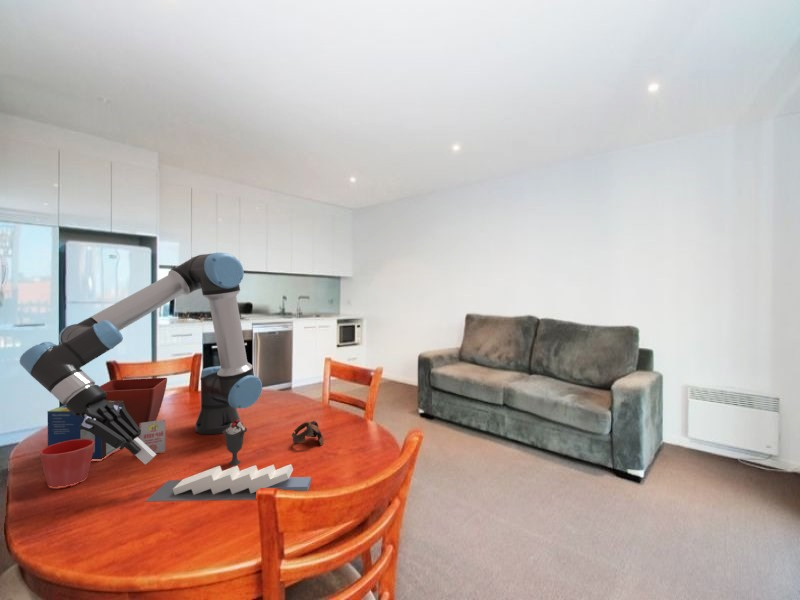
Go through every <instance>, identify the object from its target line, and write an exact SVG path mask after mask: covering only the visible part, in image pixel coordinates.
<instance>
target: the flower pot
mask: <svg viewBox="0 0 800 600" xmlns="http://www.w3.org/2000/svg"><path fill="white" fill-rule="evenodd" d="M94 445H95V441H94V440H91V439H76V440H69V441H64V442H60V443H57V444H53V445H50V446H48V445H47V446H45V447H44V448H42V449H41V450H40V451H39V457H40V461H41V464H42V469H43V473H44V476H45V480H46V484H47V486H48V485H49V486H52V487H58V486H66V485H70V484H74V483H77V482H80V481H82V480H84V479H85V478H86V477H87V478H88V476H89V471H90V467H91V463H92V462H91V460H92V455H93V450H94ZM84 481H85V480H84Z"/></svg>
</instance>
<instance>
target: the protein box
mask: <svg viewBox="0 0 800 600" xmlns="http://www.w3.org/2000/svg"><path fill="white" fill-rule="evenodd" d="M109 402H112V403H113V405H116V406H119V405H120V404H123V401H109ZM83 421H84V419H83V418H82V416H75V415H74V414H73V413H72V412H71V411H69V410H68V409H67V408H66V404H63V405H60V406H58V407H55V408H53V409H50V410H47V447H48V446H50V445H53V444H57V443H60V442H64V441H69V440H76V439H91V440H94V441H95V445H94V450H93V455H92V459H102V458H104V457H105V456H107V455H108V454H110V453H112V452H113V451H115V450H117V449H118V448H117V449H116V448H114V447H112V446H111V445H109V444H108V443H106V442H105V441H103V440H101V439H100V438H98V437H97V436H95V435H94V434H92V433H91V432H89V431H86V430H83V429H81V428H80V427H79V426H80V425H81V424H82V423H83ZM116 443H117V442H116ZM119 448H120V447H119Z"/></svg>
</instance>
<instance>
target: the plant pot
mask: <svg viewBox="0 0 800 600" xmlns="http://www.w3.org/2000/svg"><path fill="white" fill-rule="evenodd" d="M167 382H168V377H149V378H130V379H129V378H126V379H125V378H124V379H111V380H109V381H107V382H105V383H103V384H102V385H100V386H99V385H98V386H99V387H101V388H102V389H103V390H104V391H105V392H106V393H107V396H106V400H108V401H123V404H124V405H125V408H126V411H127V412H128V413H129V415H130V416H131V417H132V419H133V420H134V421H135V423H136V424H137V425H138V427H139V423H144V422H151V421H157V419H158V417H159V413H160V411H161V408H162V404H163V402H164V397H165V394H166V388H167V384H168V383H167Z"/></svg>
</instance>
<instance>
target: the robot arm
mask: <svg viewBox="0 0 800 600" xmlns="http://www.w3.org/2000/svg"><path fill="white" fill-rule="evenodd" d="M244 272H245V271H244V268H243V264H242V263H241V261H240V260H239V259H238V258H237V257H236V256H234V255H233V254H230V253H227V252H214V253H207V254H199V255H196V256H193V257H191V258H189V259H188V260H186V261H184V262H183V263H181V264H179V265H178V266H176V267H173V269H170V270H169V271H168V274H167V275H166V276H164V277H162V278H161V279H158V280H157V281H155V282H153V283H151V284H149V285H147V286H145V287H144V288H141V289H140V290H138V291H136V292H134V293H132V294H131V295H128V296H127V297H125V298H123V299H121V300H119V301H117V302H116V303H114V304H112V305H110V306H108V307H107V308H104V309H102V310H101V311H99V312H97V313H94V314H93V315H91V316H90V317H88V318H86V319H83V320H82V321H80V322H78V323H74V324H73V323H72V324H70V325H68V326H65V327H64V328H63V329H62V330H61V331H60V332H59V335H58V341H59V344H56V343H53V342H51V341H43V342H41V343H39V344H35V345H33V346H32V347H30V348H28V349H27V350H26V351H24V352H23V353H22V355H21V356H20V357H19V364H20V365H21V367H23V368H24V369H25V371H26V372H27V373H28V374H29V375H30V376H31V377H32V378H33V379H34V380H35V381H36V382H38V383H39V384H40V385H41V386H42V387H44V388H45V389H46V390H47V391H48V392H49V393H50V394H52V396H54V397H55V398H56V399H57V400H58V401H59V402H60V403H61V404H63V405H66V408H67V409H68V410H69V411H71V412H72V413H73V414H74V415H75V416H82V418H83V419H84V421H83V423H82V424H81V425H80V426H79V427H80V428H81V429H83V430H86V431H89V432H91V433H92V434H94V435H95V436H97V437H98V438H100V439H101V440H103V441H105V442H106V443H108V444H109V445H111V446H112V447H114V448H116V449H117V448H119V447H120V448H119V449H120V450H123V449H124V448H125V449H126V450H127V451H128V452H130V454H132V455H133V456H135V457H137V459H138V460H140V461H141V462H142V463H143V464H144V465H147V464H148V463H149V462H150V461H152V460H153V458H155V457H156V456H157V455H158V454H156V453H154V452H153V451H152V450H151V449H150V448H149V447H148V446H147V445H146V443H144V442H143V441H142V440H141V439H140V438H139V435H140V434H141V429H140V428H139V427H138V425H137V424H136V423H135V421H134V420H133V419H132V417H131V416H130V415H129V413H128V412H127V411H126V408H125V405H124V404H120V405H119V406H116V405H113V403H112V402H109V401H108V400H106V396H107V393H106V392H105V391H104V390H103V389H102V388H101V387H99V384H96V382H95V381H94V380H93V379H92V378H91V377H90V376H89V375H88V374H87V373H86V372H84V371H83V370H82V369H81V368H82V367H84V366H86V365H87V364H89V363H90V362H92V361H94V360H96V359H97V358H99V357H100V356H102V355H103V354H106V353H107V352H109V351H110V350H112V349H114V348H115V347H116V346H118V345H119V344H120V343H122V342H123V339H124V337H123V334H122V333H121V331H122V330H124V329H125V328H127V327H129V326H130V325H132V324H133V323H135V322H137V321H139V320H141V319H142V318H144V317H145V316H148V315H149V314H151V313H153V312H154V311H156V310H157V309H159V308H161V307H163V306H164V305H166V304H168V303H169V302H171V301H173V300H175V299H176V298H178V297H180V296H182V295H189V294H191V293H193V292H195V291H197V290H201V292H202V296H203V297H204V298H205V299H207V300H208V302H209V308H210V315H211V318H212V319H211V320H212V325H213V332H214V336H215V342H216V343H215V344H216V347H217V353H218V359H219V363H220V365H216V366H209V367H205V368H203V369H202V370H201V372H200V373H201V374H200V410H199V413H198V416H197V418H196V419H197V420H196V422H195V432H196V433H197V432H198V434H200V435H217V434H218V435H220V434H223V433H222V432H223V431H224V430H225V429H227V428H228V427H229V426H230V424H231V423H232V422H233V419H234V421H235V419H237V420H238V421H240V422H241V417H240V414H239V411H238V409H240V410H241V409H247V408H249V407H252V406H253V405H255V404H256V403H257V402H258V400H259V398H260V397H261V394H262V391H263V384H262V380H261V379H260V378H259V377H258V376H256V375H255V372H254V367H253V366H254V365H253V364H251V363H250V362H248V359H247V358H248V357H247V352H246V346H245V341H244V336H243V335H244V334H243V328H242V322H241V317H240V311H239V305H238V304H239V303H238V297H237V296H238V295H239V293H240V291H241V287H240V284H241V282H242V281H243V278H244V274H245V273H244ZM235 416H236V417H235ZM234 417H235V418H234ZM116 442H117V443H116Z"/></svg>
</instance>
